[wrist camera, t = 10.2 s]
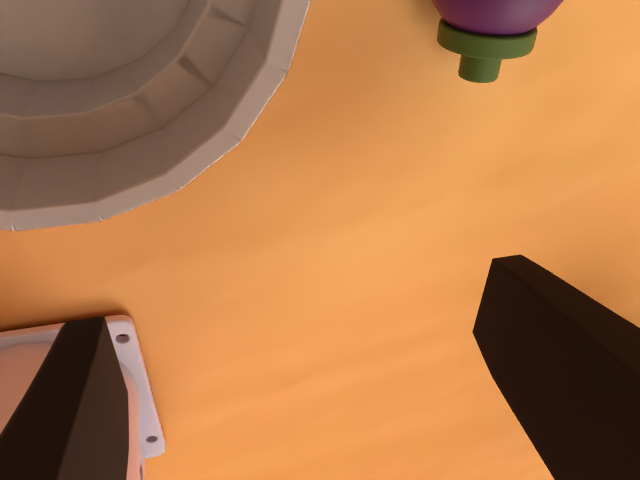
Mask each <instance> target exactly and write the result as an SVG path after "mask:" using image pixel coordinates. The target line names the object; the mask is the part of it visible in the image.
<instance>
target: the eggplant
mask: <svg viewBox="0 0 640 480" xmlns="http://www.w3.org/2000/svg"><path fill="white" fill-rule="evenodd" d="M432 1H433V4H434V5H435V7H436V8H437V10H438V12H439V13H440V15H441V16H442V18H441V19H440V21H439V27H438V34H437V41H438V43H439V44H440V45H441V46H442V47H444V48H445V49H447V50H449V51H452V52H455V53H458V54H461V59H460V65H459V71H458V73H459V76H460V77H461V78H463V79H465V80H467V81H471V82H476V83H488V82H493V81H495V80H496V79H497V77H498V74H499V69H500V65H501V60H502V59H511V58H518V57H522V56H525V55H527V54H529V53H530V52H531V51H532V50H533V47H534V43H535V39H536V35H537V26H538V25H539V24H540V23H542V22H543V21H544V20H545V19H546V18H548V17H549V16H550V15H551V14H552V13H553V12H554V11H555V10H556V9H557V7H558V6H559V5H560V4H561V3H562V1H563V0H432Z"/></svg>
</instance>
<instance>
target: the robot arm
mask: <svg viewBox="0 0 640 480" xmlns="http://www.w3.org/2000/svg"><path fill="white" fill-rule="evenodd" d="M120 334H126V336H119V335H120ZM473 334H474V337H475V339H476V341H477V344H478V346H479V348H480V351H481V353H482V356H483V358H484V360H485V362H486V364H487V366H488V369H489V371H490V373H491V375H492V377H493V379H494V381H495V382H496V384H497V386H498V388H499V389H500V391H501V393H502V394H503V396H504V398H505V399H506V401H507V403H508V404H509V406H510V408H511V409H512V411H513V413H514V414H515V416H516V417H517V419H518V421H519V422H520V424H521V426H522V427H523V429H524V430H525V432H526V434H527V435H528V437H529V439H530V440H531V442H532V443H533V445H534V447H535V448H536V450H537V452H538V453H539V455H540V456H541V458H542V460H543V461H544V463H545V465H546V466H547V468H548V469H549V471H550V473H551V474H552V476H553V478H554V479H555V480H640V328H639V327H637V326H636V325H634V324H632V323H631V322H629V321H627V320H626V319H624V318H622V317H621V316H619V315H618V314H616V313H614V312H613V311H611V310H609V309H608V308H606V307H605V306H603V305H601V304H600V303H598V302H597V301H595V300H594V299H592V298H590V297H589V296H587V295H586V294H584V293H582V292H581V291H579V290H578V289H576V288H575V287H573V286H571V285H570V284H568V283H567V282H565V281H564V280H562V279H560V278H559V277H557V276H556V275H554V274H553V273H551V272H549V271H548V270H546V269H545V268H543V267H541V266H540V265H538V264H536V263H535V262H533V261H531V260H529V259H528V258H526V257H524V256H522V255H514V256H507V257H501V258H494V259H492V262H491V266H490V270H489V273H488V277H487V281H486V284H485V288H484V292H483V295H482V299H481V303H480V306H479V310H478V314H477V317H476V321H475V325H474V328H473ZM165 450H166V442H165V439H164V435H163V431H162V427H161V424H160V420H159V416H158V412H157V409H156V405H155V401H154V397H153V394H152V390H151V386H150V382H149V379H148V375H147V371H146V367H145V363H144V360H143V356H142V352H141V348H140V345H139V341H138V337H137V333H136V330H135V326H134V322H133V320H132V319H131V318H130V317H129V316H126V315H113V316H106V317H105V316H103V317H96V318H89V319H82V320H76V321H69V322H66V323H59V324H52V325H45V326H39V327H32V328H25V329H18V330H12V331H5V332H0V480H145V458H150V457H155V456H159V455H161V454H163V453H164V452H165Z"/></svg>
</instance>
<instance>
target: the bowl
mask: <svg viewBox="0 0 640 480" xmlns="http://www.w3.org/2000/svg"><path fill="white" fill-rule="evenodd" d="M310 2H311V0H0V230H8V231H13V230H14V229H15V231H24V230H32V229H41V228H50V227H58V226H67V225H76V224H84V223H93V222H101V221H102V220H107V219H110V218H112V217H115V216H117V215H120V214H122V213H125V212H127V211H130V210H132V209H135V208H137V207H140V206H142V205H145V204H148V203H150V202H153V201H155V200H158V199H160V198H163V197H165V196H168V195H170V194H173V193H175V192H177V191H178V190H181V189H182V188H184V187H185V186H186V185H187V184H189V183H190V182H191V181H192V180H194V179H195V178H196V177H198V176H199V175H200V174H201V173H203V172H204V171H205V170H206V169H208V168H209V167H210V166H211V165H213V164H214V163H215V162H217V161H218V160H219V159H220V158H222V157H223V156H224V155H225V154H227V153H228V152H229V151H231V150H232V149H233V148H234V147H236V146H237V145H238V144H239V143H240V140H241V141H242V140H243V139H244V137H245V136H246V134H247V133H248V132H249V130H250V129H251V127H252V126H253V124H254V123H255V121H256V120H257V118H258V117H259V115H260V114H261V112H262V111H263V109H264V108H265V107H266V105H267V104H268V102H269V101H270V99H271V98H272V96H273V95H274V93H275V92H276V90H277V89H278V87H279V86H280V84H281V83H282V81H283V80H284V79H285V77H286V76H287V73H288V71H289V69H290V67H291V64H292V61H293V57H294V54H295V51H296V48H297V44H298V41H299V38H300V34H301V31H302V28H303V25H304V21H305V18H306V15H307V11H308V8H309V5H310Z"/></svg>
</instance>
